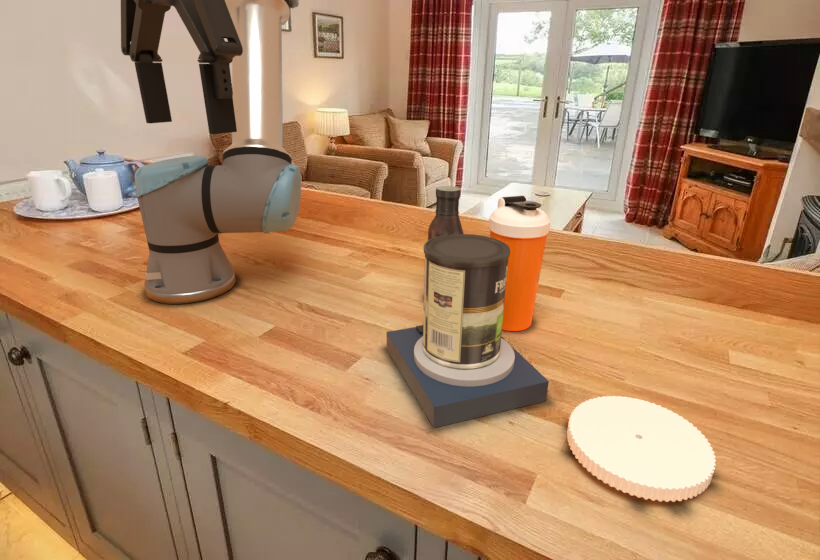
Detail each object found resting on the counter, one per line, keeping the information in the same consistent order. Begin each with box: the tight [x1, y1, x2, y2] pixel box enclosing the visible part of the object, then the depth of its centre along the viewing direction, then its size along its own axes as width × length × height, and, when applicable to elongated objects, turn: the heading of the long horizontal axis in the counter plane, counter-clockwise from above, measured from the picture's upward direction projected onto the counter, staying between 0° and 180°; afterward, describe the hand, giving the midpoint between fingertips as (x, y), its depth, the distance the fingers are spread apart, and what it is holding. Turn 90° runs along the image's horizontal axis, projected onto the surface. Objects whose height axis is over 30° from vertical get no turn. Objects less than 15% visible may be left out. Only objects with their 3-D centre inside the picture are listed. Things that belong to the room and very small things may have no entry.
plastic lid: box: [566, 395, 717, 503], centre depth 52 cm, size 14×14×2 cm
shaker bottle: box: [488, 195, 551, 332], centre depth 76 cm, size 9×9×20 cm
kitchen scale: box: [386, 324, 550, 429], centre depth 65 cm, size 18×15×4 cm
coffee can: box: [422, 233, 510, 369], centre depth 61 cm, size 10×10×14 cm
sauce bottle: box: [427, 185, 465, 241], centre depth 83 cm, size 7×6×20 cm
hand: (189, 127), depth 54 cm, fingers open, 13 cm apart
